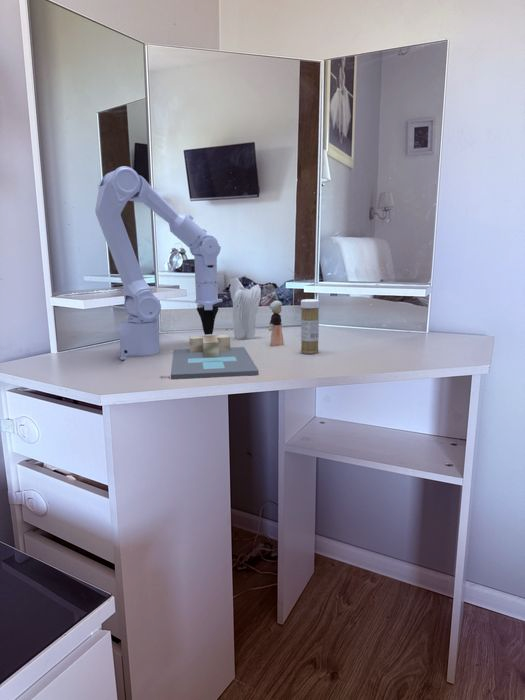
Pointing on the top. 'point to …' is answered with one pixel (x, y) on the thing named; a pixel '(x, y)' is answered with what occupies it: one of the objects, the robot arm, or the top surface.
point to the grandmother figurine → (276, 324)
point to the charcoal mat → (212, 364)
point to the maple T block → (209, 344)
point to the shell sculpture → (244, 309)
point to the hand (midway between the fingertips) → (208, 334)
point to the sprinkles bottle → (309, 326)
